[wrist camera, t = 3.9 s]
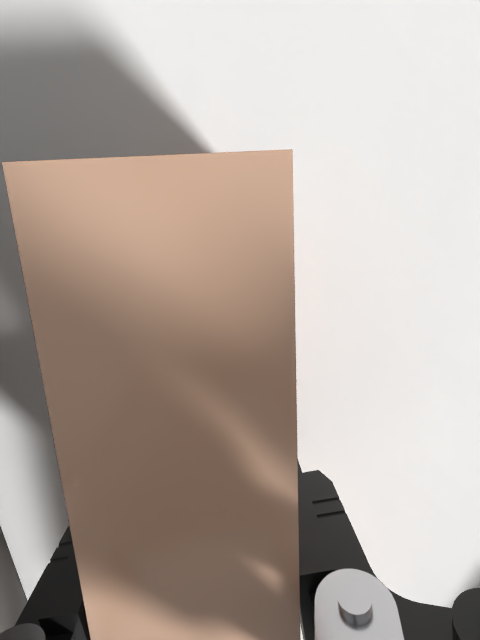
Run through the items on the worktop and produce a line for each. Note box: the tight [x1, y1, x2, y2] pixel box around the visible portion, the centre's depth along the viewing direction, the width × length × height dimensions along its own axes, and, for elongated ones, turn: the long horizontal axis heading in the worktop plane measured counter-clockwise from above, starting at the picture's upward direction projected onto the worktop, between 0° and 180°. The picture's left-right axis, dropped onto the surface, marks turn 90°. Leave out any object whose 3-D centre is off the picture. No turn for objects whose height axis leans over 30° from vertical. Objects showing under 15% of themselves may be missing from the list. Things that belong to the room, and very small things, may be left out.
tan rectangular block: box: [2, 149, 300, 640], centre depth 8 cm, size 16×4×4 cm, turn 3°
